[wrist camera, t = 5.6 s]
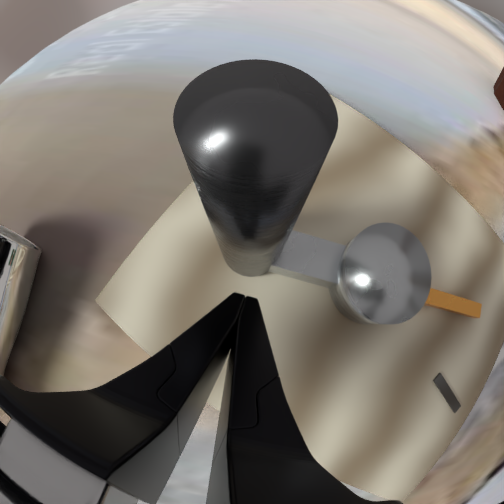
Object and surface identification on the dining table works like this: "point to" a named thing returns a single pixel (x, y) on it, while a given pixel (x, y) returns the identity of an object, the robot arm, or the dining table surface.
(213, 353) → the robot arm
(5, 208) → the dining table surface
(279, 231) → the cam lever
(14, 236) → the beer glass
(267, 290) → the dial board
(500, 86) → the muffin
